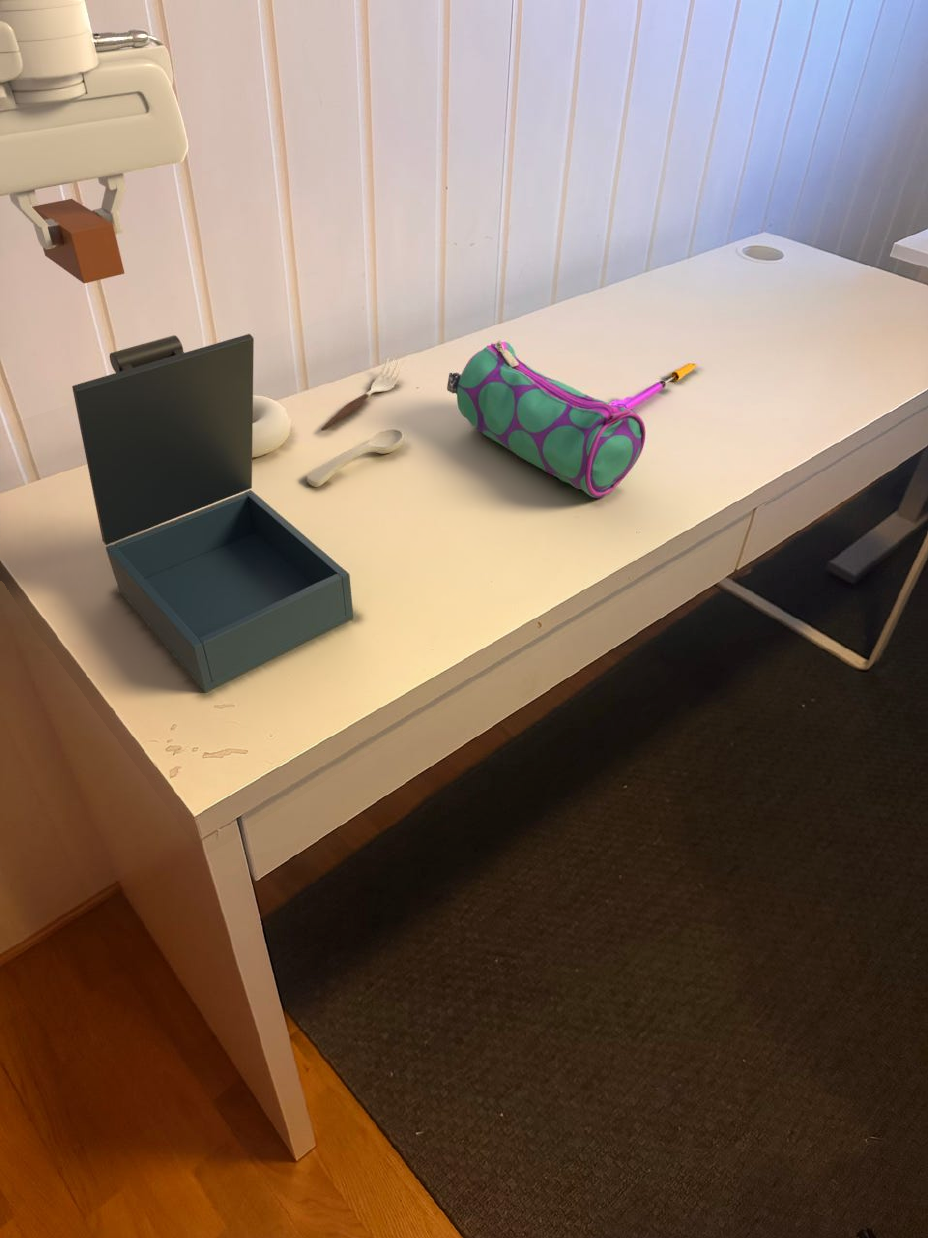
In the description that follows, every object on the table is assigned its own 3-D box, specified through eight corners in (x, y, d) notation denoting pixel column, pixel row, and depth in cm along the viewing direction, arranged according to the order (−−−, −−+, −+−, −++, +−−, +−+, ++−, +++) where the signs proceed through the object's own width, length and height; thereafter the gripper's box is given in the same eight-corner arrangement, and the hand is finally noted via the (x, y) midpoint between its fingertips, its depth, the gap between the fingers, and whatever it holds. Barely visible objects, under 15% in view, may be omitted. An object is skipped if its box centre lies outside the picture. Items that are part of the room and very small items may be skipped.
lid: (254, 337, 66) (223, 302, 67) (75, 391, 59) (46, 350, 61) (252, 488, 79) (226, 456, 80) (105, 545, 72) (80, 509, 74)
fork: (311, 431, 96) (310, 414, 95) (388, 372, 107) (387, 356, 105) (332, 437, 95) (330, 420, 94) (407, 377, 106) (406, 361, 105)
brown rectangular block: (124, 273, 74) (113, 223, 71) (83, 283, 72) (70, 232, 69) (84, 246, 78) (71, 198, 76) (45, 255, 77) (30, 206, 74)
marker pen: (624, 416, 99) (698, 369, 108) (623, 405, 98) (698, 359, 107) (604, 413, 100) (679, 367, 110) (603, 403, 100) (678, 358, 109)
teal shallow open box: (353, 618, 73) (349, 573, 70) (205, 693, 67) (193, 647, 64) (258, 532, 82) (250, 489, 79) (119, 591, 76) (105, 546, 72)
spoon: (411, 446, 94) (409, 430, 92) (321, 497, 88) (318, 480, 86) (392, 436, 95) (390, 419, 94) (303, 485, 89) (299, 468, 88)
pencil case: (446, 430, 97) (445, 345, 90) (507, 405, 101) (511, 323, 94) (582, 517, 85) (593, 426, 78) (645, 485, 89) (660, 396, 82)
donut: (236, 477, 89) (312, 438, 95) (230, 447, 87) (308, 409, 92) (178, 442, 94) (253, 407, 100) (170, 413, 92) (248, 378, 97)
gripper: (146, 21, 71) (181, 205, 80) (-137, 49, 61) (-60, 255, 70) (182, 31, 67) (214, 223, 76) (-112, 63, 57) (-34, 279, 66)
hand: (81, 239), depth 73 cm, fingers closed on brown rectangular block, 3 cm apart
